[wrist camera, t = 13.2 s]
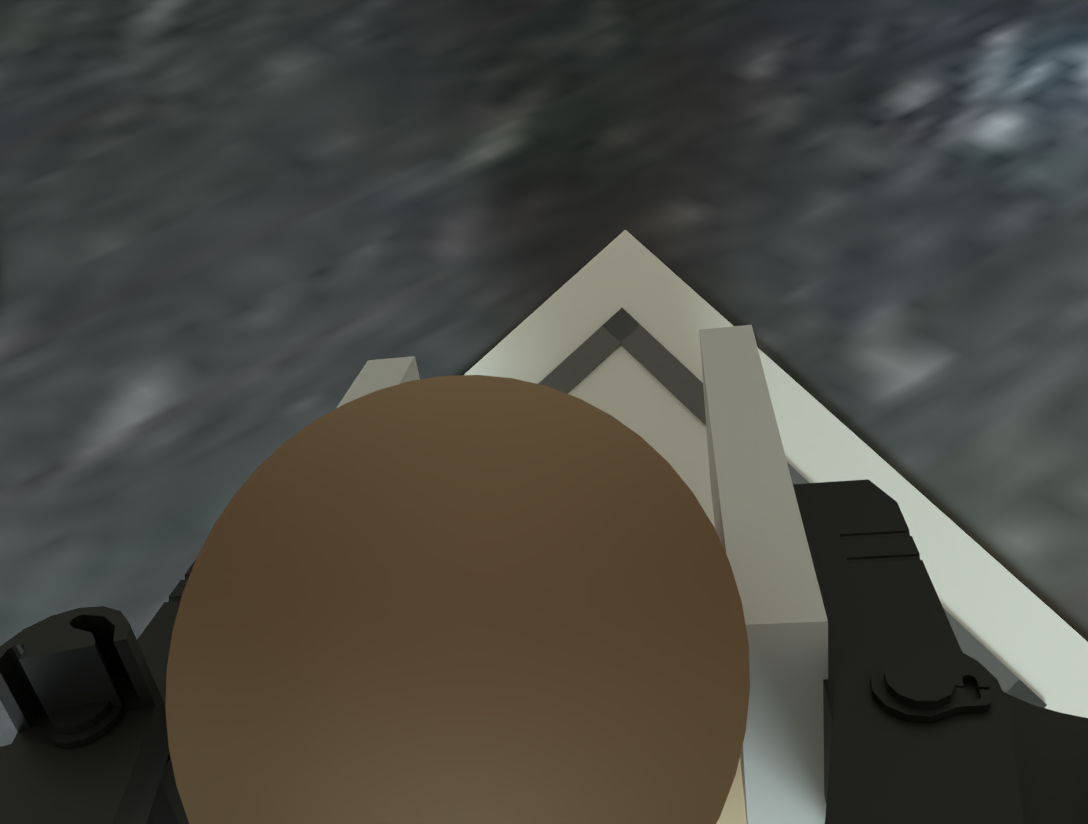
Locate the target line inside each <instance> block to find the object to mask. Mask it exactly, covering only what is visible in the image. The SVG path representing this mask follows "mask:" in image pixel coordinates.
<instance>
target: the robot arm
mask: <svg viewBox="0 0 1088 824" xmlns="http://www.w3.org/2000/svg"><path fill="white" fill-rule="evenodd" d="M699 334H700V348H701V361H702V375H703V389H704V402H705V416H706V430H707V443H708V457H709V471H710V484H711V494H712V504H713V513H714V522H715V530H716V533H717V535H718V537H719V539H720V542H721V544H722V546H723V548H724V551H725V553H726V555H727V557H728V559H729V562H730V564H731V568H732V571H733V575H734V578H735V581H736V585H737V588H738V591H739V595H740V598H741V601H742V606H743V613H744V619H745V625H746V631H747V637H748V643H749V671H750V693H749V703H748V714H747V724H746V732H745V737H744V741H743V745H742V750H741V754H740V764H741V773H742V783H743V792H744V801H745V810H746V820H747V824H1088V718H1085V717H1080V716H1075V715H1070V714H1065V713H1060V712H1056V711H1053V710H1049V709H1046V708H1042V707H1038V706H1035V705H1032V704H1030V703H1027V702H1025V701H1023V700H1021V699H1018V698H1016V697H1014V696H1012V695H1009V694H1007V693H1006V692H1004V691H1003V690H1002V689H1001V686H1000V684H999V682H998V680H997V679H996V678H995V677H994V676H993V675H992V674H991V673H990V672H989V671H988V670H987V669H986V668H985V667H984V666H983V665H982V664H980V663H979V662H978V661H977V660H976V659H974V658H972V657H970V656H968V655H966V654H964V653H963V652H962V650H961V648H960V646H959V643H958V641H957V639H956V637H955V634H954V632H953V630H952V627H951V625H950V623H949V620H948V618H947V616H946V613H945V611H944V609H943V607H942V604H941V602H940V600H939V597H938V595H937V593H936V590H935V588H934V586H933V584H932V581H931V579H930V577H929V574H928V572H927V570H926V567H925V565H924V563H923V560H920V554H919V551H918V549H917V547H916V544H915V542H914V540H913V537H912V536H910V533H909V528H908V526H907V524H906V521H905V519H904V517H903V514H902V512H901V510H900V507H899V505H898V503H897V502H896V501H895V500H894V499H893V498H891V497H890V496H889V495H887V494H886V493H885V492H884V491H882V490H881V489H880V488H879V487H877V486H876V485H875V484H874V483H872V482H871V481H870V480H869V479H866V480H851V481H836V482H821V483H806V484H792V480H791V476H790V472H789V468H788V464H787V460H786V457H785V453H784V449H783V445H782V441H781V437H780V433H779V429H778V425H777V422H776V418H775V414H774V410H773V406H772V402H771V398H770V394H769V390H768V387H767V383H766V379H765V375H764V371H763V367H762V363H761V359H760V356H759V352H758V348H757V344H756V340H755V336H754V332H753V328H752V325H743V326H733V327H722V328H711V329H700V330H699ZM414 380H420V378H419V373H418V369H417V364H416V360H415V356H411V357H400V358H390V359H379V360H368V361H367V363H366V364H365V366H364V367H363V369H362V370H361V372H360V373H359V375H358V376H357V378H356V379H355V381H354V382H353V384H352V385H351V387H350V388H349V390H348V391H347V393H346V394H345V396H344V397H343V399H342V400H341V402H340V403H339V405H338V406H337V408H338V407H340V406H342V405H344V404H346V403H348V402H351V401H353V400H355V399H358V398H360V397H362V396H365V395H367V394H370V393H372V392H374V391H377V390H380V389H384V388H387V387H391V386H394V385H398V384H402V383H405V382H409V381H414ZM337 408H336V409H337ZM195 561H196V560H195ZM195 561H194V563H195ZM194 563H193V564H192V566H191V567H190V568H189V570H188V571H187V572H186V574H185V580H181V581H180V582H179V583H178V585H177V586H176V587H175V589H174V590H173V592H172V593H171V594H170V596H169V602H165V603H164V604H163V605H162V607H161V608H160V609H159V611H158V612H157V614H156V615H155V616H154V618H153V619H152V620H151V622H150V623H149V624H148V626H147V627H146V629H145V630H144V631H143V633H142V634H141V635H140V637H139V638H138V640H136V638H135V635H134V633H133V631H132V628H131V626H130V624H129V622H128V621H127V619H126V618H125V617H124V615H123V614H122V613H121V611H117V610H114V609H110V608H107V607H103V606H102V607H87V608H78V609H74V610H71V611H67V612H64V613H60V614H57V615H53V616H51V617H48V618H46V619H44V620H42V621H40V622H38V623H36V624H34V625H32V626H30V627H28V628H26V629H24V630H22V631H21V632H20V633H18V634H17V635H15V636H14V637H13V638H11V639H10V640H9V641H7V642H6V643H4V644H3V645H2V646H0V700H1V702H2V703H3V705H4V707H5V709H6V711H7V713H8V714H9V716H10V718H11V720H12V722H13V724H14V725H15V727H16V729H17V731H18V733H17V735H16V737H15V739H14V740H13V742H12V744H10V745H7V746H3V747H0V824H189V822H188V819H187V816H186V813H185V810H184V807H183V804H182V801H181V798H180V795H179V792H178V789H177V786H176V781H175V776H174V771H173V767H172V762H171V757H170V752H169V747H168V734H167V722H166V710H165V704H166V676H167V664H168V657H169V651H170V644H171V638H172V631H173V627H174V623H175V620H176V616H177V612H178V609H179V605H180V601H181V598H182V594H183V591H184V589H185V586H186V584H187V581H188V579H189V576H190V573H191V571H192V568H193V566H194Z"/></svg>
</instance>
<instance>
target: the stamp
mask: <svg viewBox="0 0 1088 824" xmlns="http://www.w3.org/2000/svg"><path fill="white" fill-rule="evenodd" d="M749 693H750V671H749V643H748V637H747V631H746V625H745V619H744V613H743V606H742V601H741V598H740V595H739V591H738V588H737V585H736V581H735V578H734V575H733V571H732V568H731V564H730V562H729V559H728V557H727V555H726V553H725V551H724V548H723V546H722V544H721V542H720V539H719V537H718V535H717V533H716V530H715V527H714V526H713V524H712V523H711V521H710V519H709V518H708V516H707V515H706V513H705V511H704V510H703V508H702V506H701V505H700V503H699V502H698V500H697V498H696V497H695V495H694V493H693V492H692V491H691V489H690V488H689V487H688V486H687V485H686V483H685V482H684V481H683V480H682V478H681V477H680V476H679V475H678V473H677V472H676V471H675V470H674V469H673V467H672V466H671V465H670V464H669V463H668V462H667V461H666V460H665V459H664V458H663V457H662V456H661V455H660V454H659V453H658V452H657V451H656V450H655V449H654V448H653V447H652V446H650V445H649V444H648V443H647V442H646V441H645V440H644V439H643V438H642V437H641V436H639V435H638V434H637V433H635V432H634V431H632V430H631V429H630V428H628V427H627V426H625V425H624V424H623V423H621V422H620V421H619V420H617V419H616V418H614V417H613V416H611V415H610V414H608V413H606V412H604V411H602V410H600V409H598V408H597V407H595V406H593V405H591V404H589V403H587V402H585V401H584V400H582V399H580V398H577V397H574V396H572V395H569V394H566V393H564V392H561V391H558V390H556V389H553V388H550V387H548V386H544V385H540V384H535V383H531V382H527V381H522V380H518V379H514V378H505V377H495V376H485V375H457V376H440V377H433V378H427V379H420V380H414V381H409V382H405V383H402V384H398V385H394V386H391V387H387V388H384V389H380V390H377V391H374V392H372V393H370V394H367V395H365V396H362V397H360V398H358V399H355V400H353V401H351V402H348V403H346V404H344V405H342V406H340V407H338V408H337V409H335V410H333V411H331V412H330V413H328V414H326V415H324V416H323V417H321V418H319V419H317V420H316V421H314V422H312V423H311V424H310V425H308V426H307V427H306V428H304V429H303V430H301V431H300V432H299V433H297V434H296V435H295V436H293V437H292V438H291V439H289V440H288V441H286V442H285V443H284V444H283V445H282V446H281V447H280V448H279V449H278V450H276V451H275V452H274V453H273V454H272V455H271V456H270V457H269V458H268V459H267V460H266V461H265V462H264V463H262V464H261V465H260V466H259V467H258V468H257V469H256V471H255V472H254V473H253V474H252V475H251V476H250V478H249V479H248V480H247V481H246V482H245V483H244V485H243V486H242V487H241V488H240V489H239V490H238V492H237V493H236V494H235V495H234V497H233V498H232V500H231V501H230V502H229V504H228V505H227V507H226V508H225V510H224V511H223V513H222V514H221V516H220V517H219V519H218V520H217V522H216V523H215V525H214V526H213V528H212V530H211V532H210V534H209V536H208V537H207V539H206V541H205V543H204V545H203V547H202V549H201V551H200V553H199V555H198V556H197V558H196V561H195V563H194V566H193V568H192V571H191V573H190V576H189V579H188V581H187V584H186V586H185V589H184V591H183V594H182V598H181V601H180V605H179V609H178V612H177V616H176V620H175V623H174V627H173V631H172V638H171V644H170V651H169V657H168V664H167V676H166V704H165V710H166V722H167V734H168V747H169V752H170V757H171V762H172V767H173V771H174V776H175V781H176V786H177V789H178V792H179V795H180V798H181V801H182V804H183V807H184V810H185V813H186V816H187V819H188V822H189V824H747V820H746V810H745V801H744V792H743V783H742V773H741V764H740V754H741V750H742V745H743V741H744V737H745V732H746V724H747V714H748V703H749Z"/></svg>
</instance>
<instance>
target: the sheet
mask: <svg viewBox="0 0 1088 824" xmlns="http://www.w3.org/2000/svg"><path fill="white" fill-rule="evenodd" d="M722 327H733V325H732V324H731V323H730V322H728V321H727V320H726V319H725V318H724V317H723V316H722V315H721V314H720V313H718V312H717V311H716V310H715V309H714V308H713V307H712V306H711V305H709V304H708V303H707V302H706V301H705V300H704V299H703V298H702V297H700V296H699V295H698V294H697V293H696V292H695V291H694V290H693V289H691V288H690V287H689V286H688V285H687V284H686V283H685V282H684V281H683V280H681V279H680V278H679V277H678V276H677V275H676V274H675V273H674V272H672V271H671V270H670V269H669V268H668V267H667V266H666V265H665V264H663V263H662V262H661V261H660V260H659V259H658V258H657V257H656V256H654V255H653V254H652V253H651V252H650V251H649V250H648V249H647V248H646V247H644V246H643V245H642V244H641V243H640V242H639V241H638V240H637V239H635V238H634V237H633V236H632V235H631V234H630V233H629V232H628V231H626V230H624V231H623V232H622V233H621V234H620V235H619V236H618V237H616V238H615V239H614V240H613V241H612V242H611V243H610V244H609V245H608V246H606V247H605V248H604V249H603V250H602V251H601V252H600V253H599V254H598V255H596V256H595V257H594V258H593V259H592V260H591V261H590V262H589V263H588V264H586V265H585V266H584V267H583V268H582V269H581V270H580V271H579V272H578V273H576V274H575V275H574V276H573V277H572V278H571V279H570V280H569V281H568V282H566V283H565V284H564V285H563V286H562V287H561V288H560V289H559V290H558V291H556V292H555V293H554V294H553V295H552V296H551V297H550V298H549V299H548V300H546V301H545V302H544V303H543V304H542V305H541V306H540V307H539V308H538V309H536V310H535V311H534V312H533V313H532V314H531V315H530V316H529V317H528V318H526V319H525V320H524V321H523V322H522V323H521V324H520V325H519V326H518V327H516V328H515V329H514V330H513V331H512V332H511V333H510V334H509V335H508V336H506V337H505V338H504V339H503V340H502V341H501V342H500V343H499V344H498V345H496V346H495V347H494V348H493V349H492V350H491V351H490V352H489V353H488V354H486V355H485V356H484V357H483V358H482V359H481V360H480V361H479V362H477V363H476V364H475V365H474V366H473V367H472V368H471V369H470V370H469V371H467V372H466V373H465V374H464V375H485V376H495V377H505V378H514V379H518V380H522V381H527V382H531V383H535V384H540V385H544V386H548V387H550V388H553V389H556V390H558V391H561V392H564V393H566V394H569V395H572V396H574V397H577V398H580V399H582V400H584V401H585V402H587V403H589V404H591V405H593V406H595V407H597V408H598V409H600V410H602V411H604V412H606V413H608V414H610V415H611V416H613V417H614V418H616V419H617V420H619V421H620V422H621V423H623V424H624V425H625V426H627V427H628V428H630V429H631V430H632V431H634V432H635V433H637V434H638V435H639V436H641V437H642V438H643V439H644V440H645V441H646V442H647V443H648V444H649V445H650V446H652V447H653V448H654V449H655V450H656V451H657V452H658V453H659V454H660V455H661V456H662V457H663V458H664V459H665V460H666V461H667V462H668V463H669V464H670V465H671V466H672V467H673V469H674V470H675V471H676V472H677V473H678V475H679V476H680V477H681V478H682V480H683V481H684V482H685V483H686V485H687V486H688V487H689V488H690V489H691V491H692V492H693V493H694V495H695V497H696V498H697V500H698V502H699V503H700V505H701V506H702V508H703V510H704V511H705V513H706V515H707V516H708V518H709V519H710V521H711V523H712V524H713V526H714V527H715V522H714V513H713V504H712V494H711V484H710V471H709V457H708V443H707V430H706V416H705V402H704V389H703V375H702V361H701V348H700V334H699V330H700V329H711V328H722ZM757 348H758V347H757ZM758 352H759V356H760V359H761V363H762V367H763V371H764V375H765V379H766V383H767V387H768V390H769V394H770V398H771V402H772V406H773V410H774V414H775V418H776V422H777V425H778V429H779V433H780V437H781V441H782V445H783V449H784V453H785V457H786V460H787V464H788V468H789V472H790V476H791V480H792V484H806V483H821V482H836V481H851V480H866V479H869V480H870V481H871V482H872V483H874V484H875V485H876V486H877V487H879V488H880V489H881V490H882V491H884V492H885V493H886V494H887V495H889V496H890V497H891V498H893V499H894V500H895V501H896V502H897V503H898V505H899V507H900V510H901V512H902V514H903V517H904V519H905V521H906V524H907V526H908V528H909V533H910V536H912V537H913V540H914V542H915V544H916V547H917V549H918V551H919V554H920V560H923V563H924V565H925V567H926V570H927V572H928V574H929V577H930V579H931V581H932V584H933V586H934V588H935V590H936V593H937V595H938V597H939V600H940V602H941V604H942V607H943V609H944V611H945V613H946V616H947V618H948V620H949V623H950V625H951V627H952V630H953V632H954V634H955V637H956V639H957V641H958V643H959V646H960V648H961V650H962V652H963V653H964V654H966V655H968V656H970V657H972V658H974V659H976V660H977V661H978V662H979V663H980V664H982V665H983V666H984V667H985V668H986V669H987V670H988V671H989V672H990V673H991V674H992V675H993V676H994V677H995V678H996V679H997V680H998V682H999V684H1000V686H1001V689H1002V690H1003V691H1004V692H1006V693H1007V694H1009V695H1012V696H1014V697H1016V698H1018V699H1021V700H1023V701H1025V702H1027V703H1030V704H1032V705H1035V706H1038V707H1042V708H1046V709H1049V710H1053V711H1056V712H1060V713H1065V714H1070V715H1075V716H1080V717H1085V718H1088V642H1087V641H1086V640H1085V639H1084V638H1083V637H1082V636H1081V635H1079V634H1078V633H1077V632H1076V631H1075V630H1074V629H1073V628H1072V627H1070V626H1069V625H1068V624H1067V623H1066V622H1065V621H1064V620H1063V619H1062V618H1060V617H1059V616H1058V615H1057V614H1056V613H1055V612H1054V611H1053V610H1051V609H1050V608H1049V607H1048V606H1047V605H1046V604H1045V603H1044V602H1042V601H1041V600H1040V599H1039V598H1038V597H1037V596H1036V595H1035V594H1033V593H1032V592H1031V591H1030V590H1029V589H1028V588H1027V587H1026V586H1025V585H1023V584H1022V583H1021V582H1020V581H1019V580H1018V579H1017V578H1016V577H1014V576H1013V575H1012V574H1011V573H1010V572H1009V571H1008V570H1007V569H1005V568H1004V567H1003V566H1002V565H1001V564H1000V563H999V562H998V561H996V560H995V559H994V558H993V557H992V556H991V555H990V554H989V553H988V552H986V551H985V550H984V549H983V548H982V547H981V546H980V545H979V544H977V543H976V542H975V541H974V540H973V539H972V538H971V537H970V536H968V535H967V534H966V533H965V532H964V531H963V530H962V529H961V528H959V527H958V526H957V525H956V524H955V523H954V522H953V521H952V520H951V519H949V518H948V517H947V516H946V515H945V514H944V513H943V512H942V511H940V510H939V509H938V508H937V507H936V506H935V505H934V504H933V503H931V502H930V501H929V500H928V499H927V498H926V497H925V496H924V495H922V494H921V493H920V492H919V491H918V490H917V489H916V488H915V487H914V486H912V485H911V484H910V483H909V482H908V481H907V480H906V479H905V478H903V477H902V476H901V475H900V474H899V473H898V472H897V471H896V470H894V469H893V468H892V467H891V466H890V465H889V464H888V463H887V462H885V461H884V460H883V459H882V458H881V457H880V456H879V455H878V454H877V453H875V452H874V451H873V450H872V449H871V448H870V447H869V446H868V445H866V444H865V443H864V442H863V441H862V440H861V439H860V438H859V437H857V436H856V435H855V434H854V433H853V432H852V431H851V430H850V429H848V428H847V427H846V426H845V425H844V424H843V423H842V422H841V421H839V420H838V419H837V418H836V417H835V416H834V415H833V414H832V413H831V412H829V411H828V410H827V409H826V408H825V407H824V406H823V405H822V404H820V403H819V402H818V401H817V400H816V399H815V398H814V397H813V396H811V395H810V394H809V393H808V392H807V391H806V390H805V389H804V388H802V387H801V386H800V385H799V384H798V383H797V382H796V381H795V380H794V379H792V378H791V377H790V376H789V375H788V374H787V373H786V372H785V371H783V370H782V369H781V368H780V367H779V366H778V365H777V364H776V363H774V362H773V361H772V360H771V359H770V358H769V357H768V356H767V355H765V354H764V353H763V352H762V351H761V350H760V349H759V348H758Z"/></svg>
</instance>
